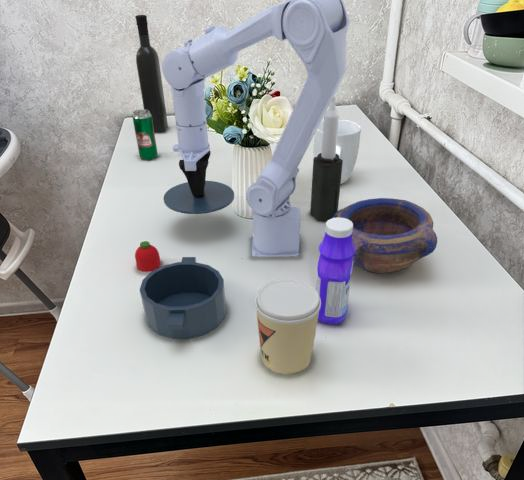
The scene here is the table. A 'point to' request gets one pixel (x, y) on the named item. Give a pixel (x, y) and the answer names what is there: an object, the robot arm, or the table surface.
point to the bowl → (389, 233)
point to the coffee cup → (287, 324)
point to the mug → (342, 145)
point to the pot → (183, 299)
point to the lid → (199, 198)
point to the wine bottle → (150, 77)
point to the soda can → (145, 134)
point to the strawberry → (147, 257)
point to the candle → (327, 170)
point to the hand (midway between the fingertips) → (198, 191)
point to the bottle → (335, 270)
